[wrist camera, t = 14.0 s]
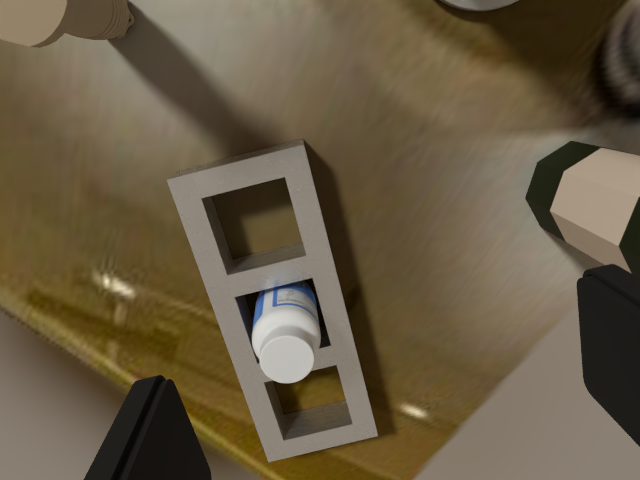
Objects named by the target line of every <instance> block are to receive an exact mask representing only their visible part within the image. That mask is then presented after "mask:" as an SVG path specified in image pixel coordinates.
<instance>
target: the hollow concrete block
mask: <svg viewBox="0 0 640 480" xmlns="http://www.w3.org/2000/svg"><path fill="white" fill-rule="evenodd" d="M283 177H285V179H286V183H287V186H288V190H289V194H290V197H291V201H292V205H293V208H294V212H295V216H296V219H297V223H298V227H299V230H300V234H301V237H302V241H303V242H299V243H295V244H291V245H288V246H284V247H280V248H276V249H272V250H268V251H264V252H260V253H256V254H252V255H248V256H244V257H240V258H236V259H232V256H231V253H230V250H229V247H228V244H227V241H226V238H225V235H224V232H223V229H222V226H221V223H220V220H219V217H218V214H217V211H216V208H215V205H214V202H213V199H212V195H216V194H220V193H224V192H228V191H232V190H236V189H240V188H244V187H248V186H251V185H255V184H259V183H263V182H267V181H271V180H275V179H279V178H283ZM167 182H168V185H169V187H170V190H171V193H172V196H173V198H174V201H175V204H176V207H177V210H178V212H179V215H180V218H181V221H182V223H183V226H184V229H185V232H186V234H187V237H188V240H189V243H190V246H191V248H192V251H193V254H194V257H195V259H196V262H197V265H198V268H199V271H200V273H201V276H202V279H203V282H204V284H205V287H206V290H207V293H208V296H209V298H210V301H211V304H212V307H213V309H214V312H215V315H216V318H217V321H218V323H219V326H220V329H221V332H222V334H223V337H224V340H225V343H226V346H227V348H228V351H229V354H230V357H231V359H232V362H233V365H234V368H235V370H236V373H237V376H238V379H239V382H240V384H241V387H242V390H243V393H244V395H245V398H246V401H247V404H248V407H249V409H250V412H251V415H252V418H253V420H254V423H255V426H256V429H257V432H258V434H259V437H260V440H261V443H262V445H263V448H264V451H265V454H266V457H267V459H268V462H272V461H276V460H280V459H284V458H288V457H293V456H297V455H301V454H305V453H309V452H313V451H318V450H322V449H326V448H330V447H334V446H338V445H343V444H347V443H351V442H355V441H359V440H363V439H368V438H372V437H376V436H378V433H377V429H376V425H375V421H374V417H373V412H372V408H371V404H370V401H369V397H368V393H367V389H366V385H365V381H364V377H363V373H362V369H361V365H360V361H359V357H358V353H357V350H356V346H355V342H354V338H353V334H352V330H351V326H350V322H349V318H348V314H347V310H346V306H345V302H344V298H343V295H342V291H341V287H340V283H339V279H338V275H337V271H336V267H335V263H334V259H333V255H332V251H331V247H330V244H329V240H328V236H327V232H326V228H325V224H324V220H323V216H322V212H321V208H320V204H319V200H318V196H317V193H316V189H315V185H314V181H313V177H312V173H311V169H310V165H309V161H308V157H307V153H306V149H305V145H304V141H303V139H299V140H296V141H292V142H288V143H284V144H280V145H276V146H272V147H268V148H264V149H261V150H257V151H253V152H249V153H245V154H241V155H237V156H233V157H230V158H226V159H222V160H218V161H214V162H210V163H206V164H202V165H198V166H195V167H191V168H187V169H183V170H179V171H177V172H176V173H174V174H173V175H172V176H171V177H170V178H168V179H167ZM309 278H313V281H314V285H315V288H316V292H317V296H318V299H319V303H320V307H321V310H322V314H323V318H324V321H325V325H326V326H323V327H320V334H321V342H320V347H319V350H318V352H317V354H316V356H315V357H314V365H313V368H312V370H311V371H313V370H317V369H322V368H326V367H330V366H334V365H337V369H338V372H339V376H340V379H341V383H342V387H343V390H344V394H345V398H346V400H343V401H339V402H335V403H330V404H326V405H322V406H318V407H314V408H310V409H306V410H302V411H297V412H293V413H289V414H285V415H284V413H283V410H282V407H281V404H280V401H279V398H278V395H277V392H276V389H275V386H274V383H273V380H272V379H270V378H269V377H267V376H266V375H265V373H264V372H263V371H262V369H261V366H260V361H259V358H258V357H257V355H256V354H255V352H254V349H253V346H252V331H253V319H252V316H251V313H250V310H249V307H248V304H247V301H246V298H245V294H249V293H253V292H257V291H261V290H265V289H269V288H273V287H277V286H281V285H285V284H289V283H293V282H297V281H301V280H305V279H309Z"/></svg>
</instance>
